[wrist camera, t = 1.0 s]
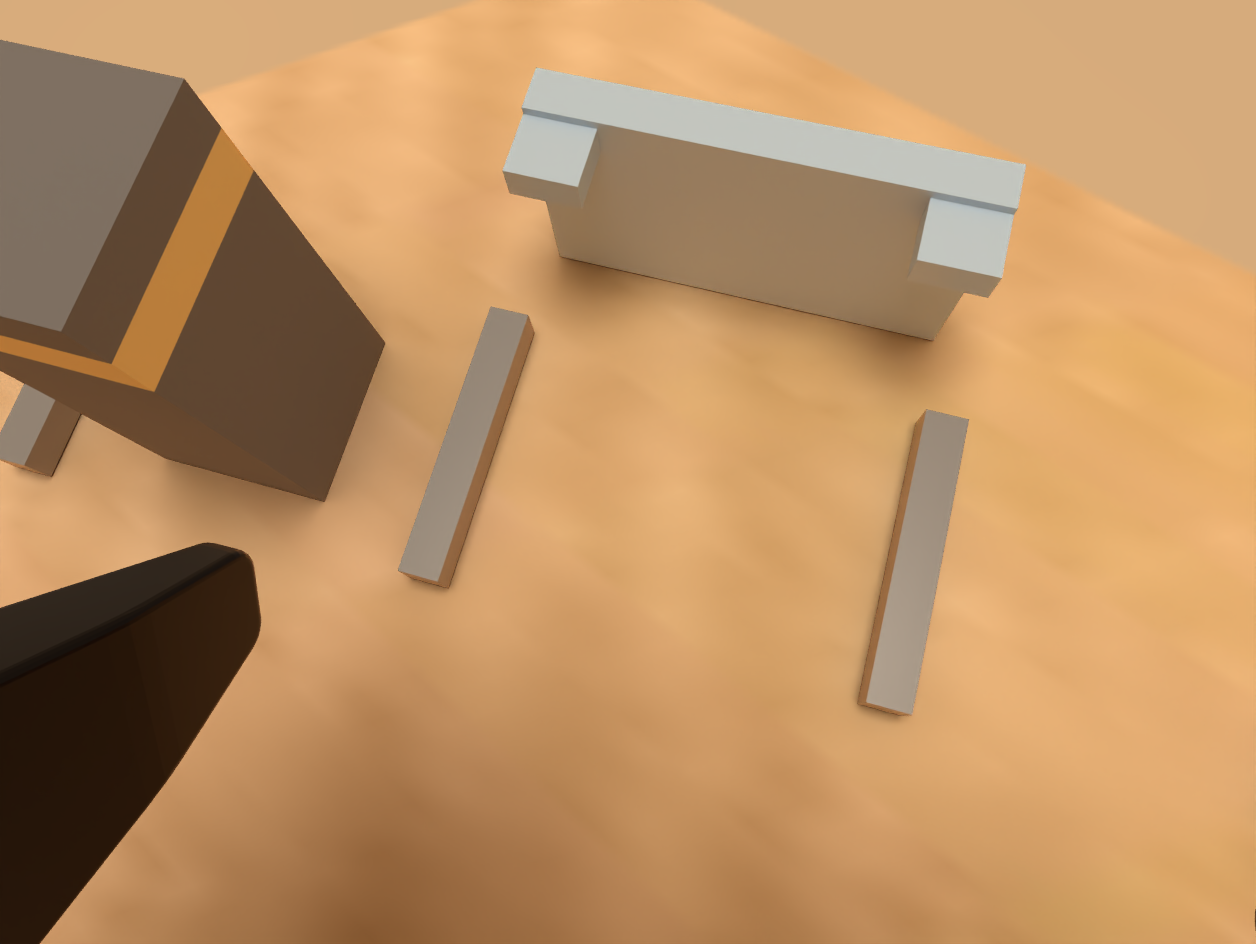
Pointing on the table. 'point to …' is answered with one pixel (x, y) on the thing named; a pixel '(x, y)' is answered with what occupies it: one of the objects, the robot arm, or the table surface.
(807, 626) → the table surface
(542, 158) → the rails
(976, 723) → the table surface
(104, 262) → the grey tall block
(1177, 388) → the table surface
